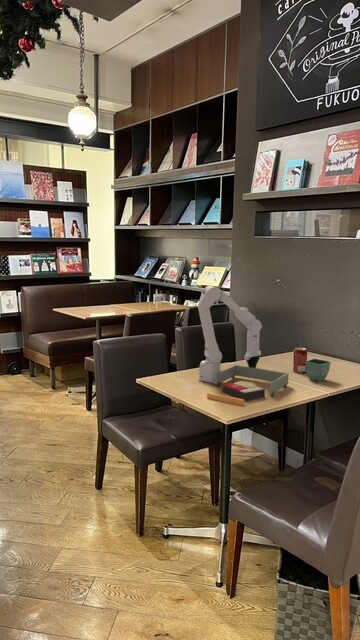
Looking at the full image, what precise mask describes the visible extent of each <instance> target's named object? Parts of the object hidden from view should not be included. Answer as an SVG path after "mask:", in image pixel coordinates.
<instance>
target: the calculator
mask: <svg viewBox="0 0 360 640" xmlns="http://www.w3.org/2000/svg"><path fill="white" fill-rule="evenodd" d="M265 391H266V389H265V388H262V387H259V386H257V385H255V384H250V383H246V382H244V381H239V382H238V381H237V382H234V383H227V384H224V385H222V393H224V394H227V396H230V397H234V398H239V399H244V402H249V401H254V400H259V399H264V398H265V396H266V392H265Z"/></svg>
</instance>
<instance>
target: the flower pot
mask: <svg viewBox="0 0 360 640" xmlns="http://www.w3.org/2000/svg"><path fill="white" fill-rule="evenodd" d="M330 367H331V361H330V360H323V359H318V358H311V359H309V360H307V361H306V372H305V373H306V375H307V377H308V378H309V380H311V381H315V382H323V380H325V379H326V378H327V376H328V375H329V372H330Z"/></svg>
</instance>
